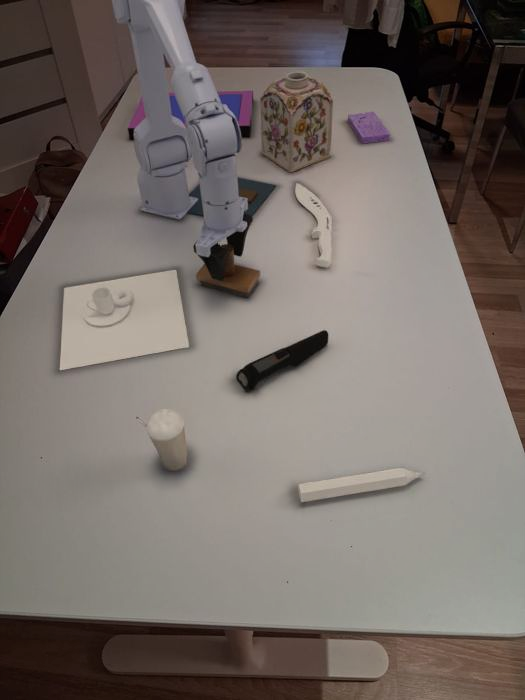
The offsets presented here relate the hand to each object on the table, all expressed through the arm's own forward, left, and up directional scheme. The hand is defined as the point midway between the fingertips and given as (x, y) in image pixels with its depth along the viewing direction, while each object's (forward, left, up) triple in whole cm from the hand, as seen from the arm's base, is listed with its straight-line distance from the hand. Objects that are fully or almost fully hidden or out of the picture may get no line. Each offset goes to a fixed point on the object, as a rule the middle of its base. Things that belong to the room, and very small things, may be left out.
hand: (227, 266), depth 92 cm
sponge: (+6, +65, -4) cm, 65 cm away
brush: (0, 0, -4) cm, 4 cm away
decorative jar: (-6, +47, -4) cm, 48 cm away
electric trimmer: (+16, -14, -4) cm, 22 cm away
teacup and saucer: (-13, -14, -4) cm, 20 cm away
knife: (+7, +23, -4) cm, 24 cm away
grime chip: (-9, +26, -3) cm, 28 cm away
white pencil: (+33, -29, -4) cm, 44 cm away
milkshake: (+9, -35, -4) cm, 36 cm away
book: (-38, +56, -4) cm, 68 cm away
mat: (-13, +25, -4) cm, 28 cm away
